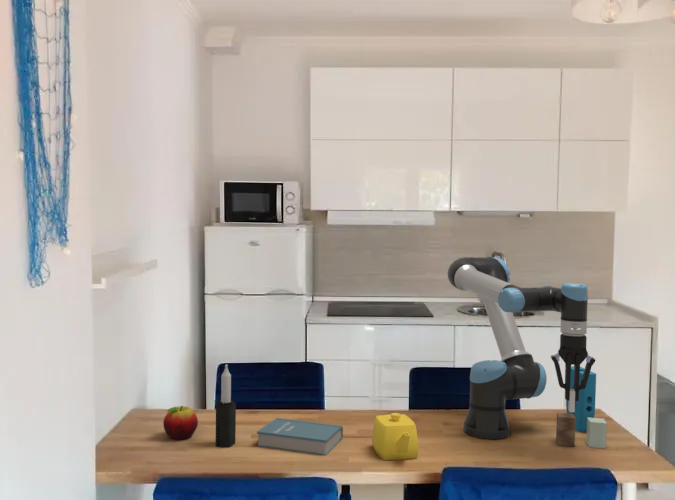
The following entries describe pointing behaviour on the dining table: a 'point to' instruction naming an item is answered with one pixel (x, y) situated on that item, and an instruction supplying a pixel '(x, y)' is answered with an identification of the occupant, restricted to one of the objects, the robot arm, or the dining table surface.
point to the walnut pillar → (565, 429)
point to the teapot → (395, 437)
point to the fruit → (180, 422)
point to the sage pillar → (596, 432)
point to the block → (583, 400)
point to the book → (300, 436)
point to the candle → (225, 413)
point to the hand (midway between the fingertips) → (571, 410)
